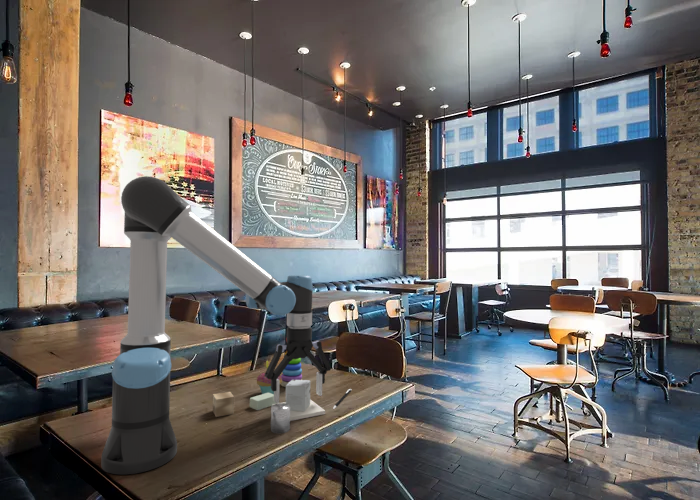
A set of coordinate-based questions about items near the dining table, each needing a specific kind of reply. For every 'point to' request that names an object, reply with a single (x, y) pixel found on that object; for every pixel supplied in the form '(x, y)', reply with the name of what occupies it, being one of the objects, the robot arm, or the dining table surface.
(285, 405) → the steel cylinder
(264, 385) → the cupcake
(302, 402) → the skincare box
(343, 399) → the pen
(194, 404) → the dining table surface
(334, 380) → the dining table surface
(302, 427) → the dining table surface
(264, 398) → the sage block
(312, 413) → the cream pad
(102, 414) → the dining table surface
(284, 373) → the stacking toy
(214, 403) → the oak cube
